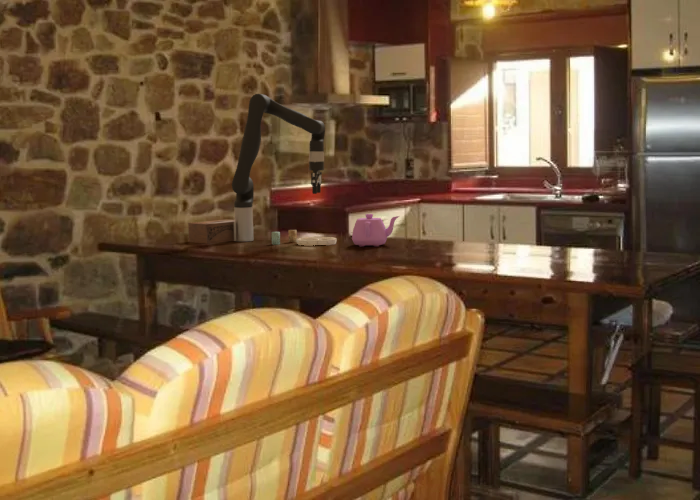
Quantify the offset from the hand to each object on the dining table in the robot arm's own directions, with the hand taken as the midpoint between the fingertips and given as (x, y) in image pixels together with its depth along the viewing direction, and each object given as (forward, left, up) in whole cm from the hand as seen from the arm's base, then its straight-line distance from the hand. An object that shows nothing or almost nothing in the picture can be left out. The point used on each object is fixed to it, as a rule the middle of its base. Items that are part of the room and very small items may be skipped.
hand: (316, 193), depth 469 cm
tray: (+2, -12, -24) cm, 27 cm away
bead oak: (-12, -4, -24) cm, 27 cm away
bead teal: (-18, -14, -24) cm, 33 cm away
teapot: (+30, -18, -24) cm, 43 cm away
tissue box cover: (-54, +4, -25) cm, 59 cm away
